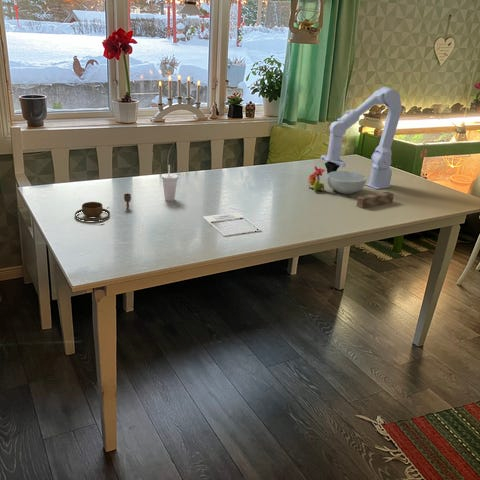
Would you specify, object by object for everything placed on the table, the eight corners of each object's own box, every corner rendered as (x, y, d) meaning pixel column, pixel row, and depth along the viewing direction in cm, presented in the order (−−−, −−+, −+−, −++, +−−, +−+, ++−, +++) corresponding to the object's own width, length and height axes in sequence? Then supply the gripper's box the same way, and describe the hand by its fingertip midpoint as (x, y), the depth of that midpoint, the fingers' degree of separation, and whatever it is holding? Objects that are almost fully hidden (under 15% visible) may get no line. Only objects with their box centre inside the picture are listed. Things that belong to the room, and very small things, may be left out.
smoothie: (158, 199, 198) (158, 165, 193) (167, 195, 204) (168, 161, 198) (171, 203, 196) (172, 168, 190) (181, 199, 201) (181, 164, 195)
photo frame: (238, 211, 190) (261, 229, 176) (238, 214, 191) (261, 232, 176) (202, 216, 184) (223, 234, 169) (202, 218, 184) (223, 237, 170)
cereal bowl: (334, 183, 235) (336, 168, 232) (368, 190, 227) (371, 175, 224) (319, 191, 221) (321, 176, 218) (355, 200, 214) (358, 184, 211)
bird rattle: (304, 193, 224) (317, 191, 217) (300, 168, 224) (313, 165, 216) (315, 192, 228) (328, 189, 220) (311, 167, 227) (324, 164, 219)
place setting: (75, 209, 185) (74, 194, 183) (131, 207, 191) (130, 192, 188) (74, 228, 170) (73, 211, 167) (135, 225, 175) (135, 209, 173)
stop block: (386, 200, 216) (388, 191, 215) (392, 202, 214) (394, 193, 212) (356, 205, 207) (357, 196, 206) (361, 208, 205) (363, 198, 203)
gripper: (317, 146, 229) (313, 175, 234) (338, 153, 218) (334, 184, 223) (328, 145, 232) (325, 173, 238) (350, 152, 221) (346, 182, 227)
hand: (330, 178), depth 231 cm, fingers closed
